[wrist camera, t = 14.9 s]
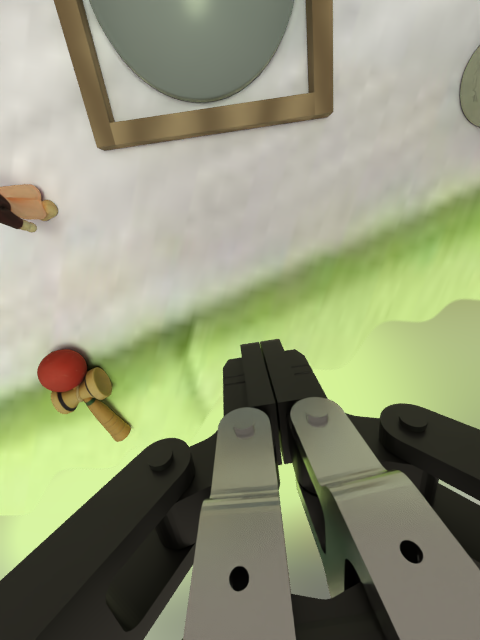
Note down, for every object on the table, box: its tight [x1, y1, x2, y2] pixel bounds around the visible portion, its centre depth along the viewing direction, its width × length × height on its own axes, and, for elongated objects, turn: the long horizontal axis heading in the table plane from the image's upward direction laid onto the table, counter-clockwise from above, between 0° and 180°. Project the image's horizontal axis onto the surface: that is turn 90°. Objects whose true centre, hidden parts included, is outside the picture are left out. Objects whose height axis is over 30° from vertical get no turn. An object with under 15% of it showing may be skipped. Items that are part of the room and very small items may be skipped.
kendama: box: [37, 349, 131, 442], centre depth 43 cm, size 8×6×18 cm
